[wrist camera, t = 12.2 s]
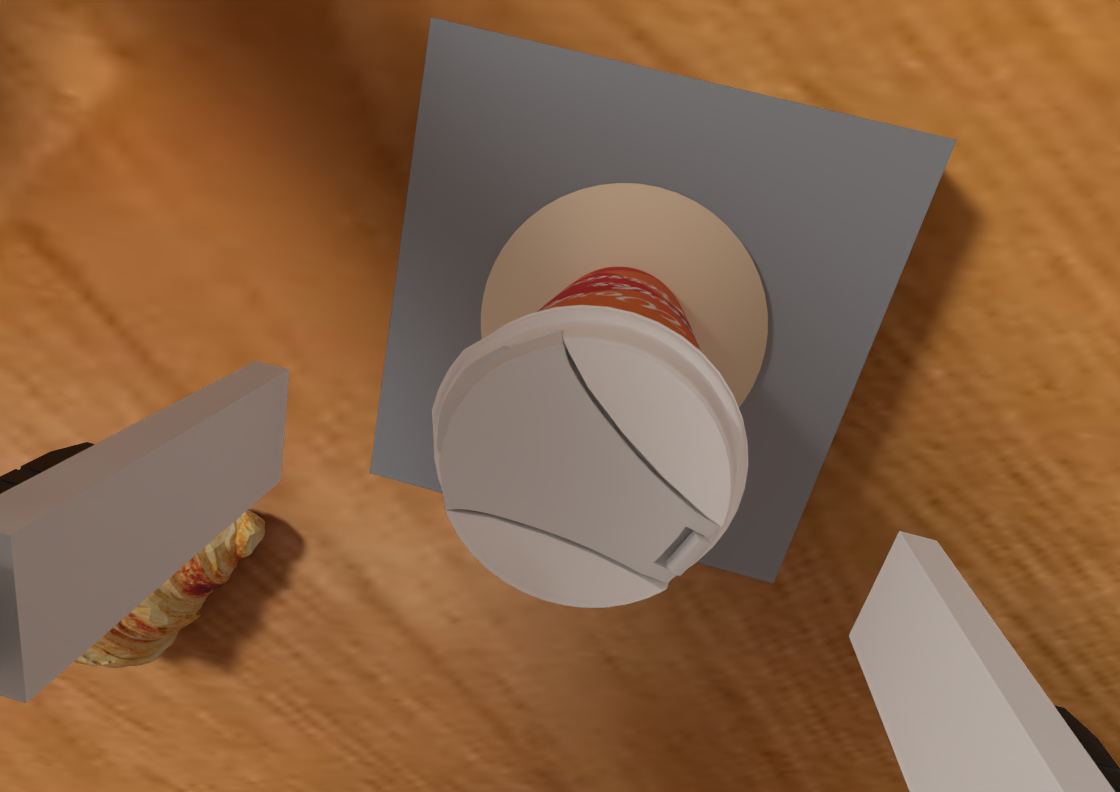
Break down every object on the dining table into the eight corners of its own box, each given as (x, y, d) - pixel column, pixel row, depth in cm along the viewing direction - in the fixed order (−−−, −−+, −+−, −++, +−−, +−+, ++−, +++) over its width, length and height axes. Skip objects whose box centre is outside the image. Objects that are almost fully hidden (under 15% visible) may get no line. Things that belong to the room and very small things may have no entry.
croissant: (280, 443, 42) (171, 435, 34) (319, 603, 40) (211, 632, 32) (40, 549, 47) (-101, 562, 40) (62, 696, 45) (-83, 739, 37)
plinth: (399, 440, 36) (366, 476, 32) (460, 34, 29) (427, 15, 25) (761, 538, 35) (774, 588, 31) (917, 141, 28) (960, 139, 24)
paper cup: (751, 311, 27) (832, 457, 14) (638, 449, 30) (619, 678, 17) (592, 197, 27) (524, 240, 14) (492, 349, 29) (355, 506, 16)
